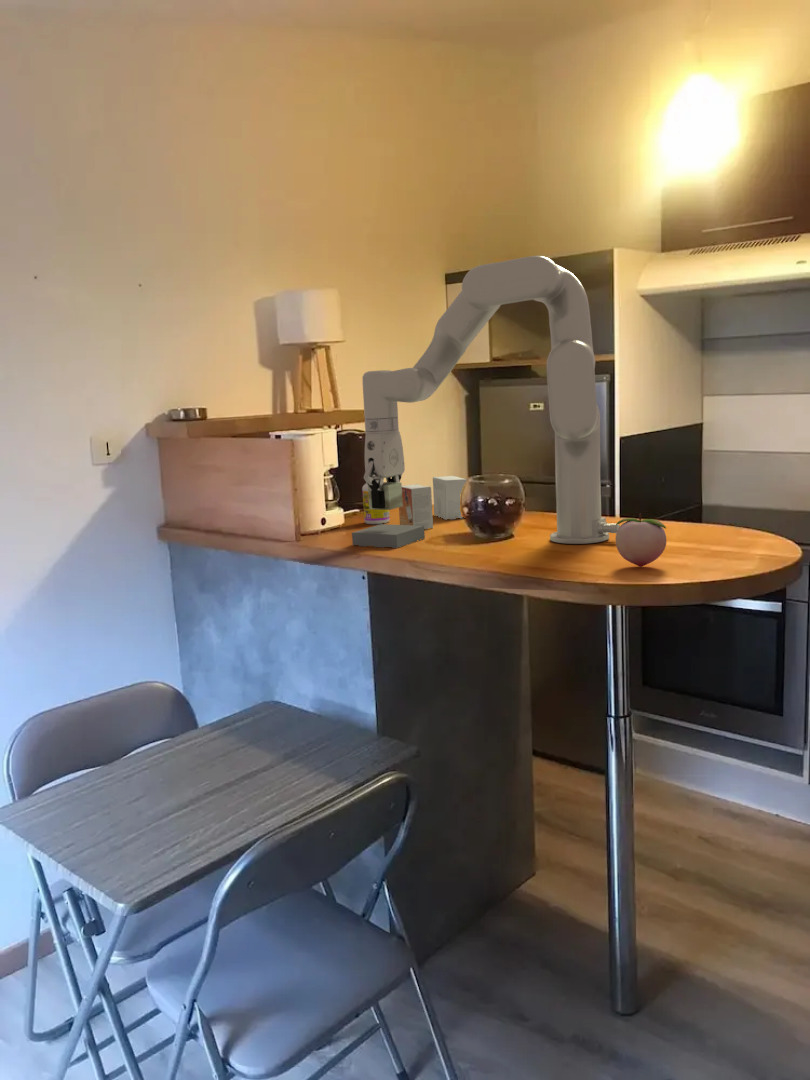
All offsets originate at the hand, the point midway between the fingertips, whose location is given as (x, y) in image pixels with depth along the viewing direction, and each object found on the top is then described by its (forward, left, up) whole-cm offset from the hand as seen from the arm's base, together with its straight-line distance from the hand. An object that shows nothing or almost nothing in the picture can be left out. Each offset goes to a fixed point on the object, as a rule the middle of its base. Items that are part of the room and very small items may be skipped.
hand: (386, 505), depth 209 cm
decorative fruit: (-62, +11, -9) cm, 64 cm away
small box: (+4, -19, -9) cm, 21 cm away
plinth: (0, 0, -8) cm, 8 cm away
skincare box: (+4, -37, -9) cm, 38 cm away
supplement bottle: (+19, -24, -9) cm, 32 cm away
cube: (0, 0, -1) cm, 1 cm away
